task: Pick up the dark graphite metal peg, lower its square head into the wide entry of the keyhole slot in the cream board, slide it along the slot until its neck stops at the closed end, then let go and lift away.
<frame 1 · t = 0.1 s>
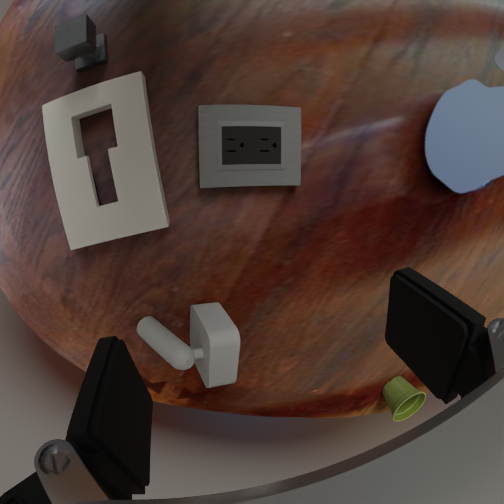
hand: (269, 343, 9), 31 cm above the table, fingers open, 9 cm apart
plant pot: (391, 384, 60), on the table
wall hook: (183, 323, 44), on the table
keyhole plate: (105, 160, 34), on the table
keyhole peg: (92, 53, 28), on the table
electrical outlet: (248, 145, 37), on the table
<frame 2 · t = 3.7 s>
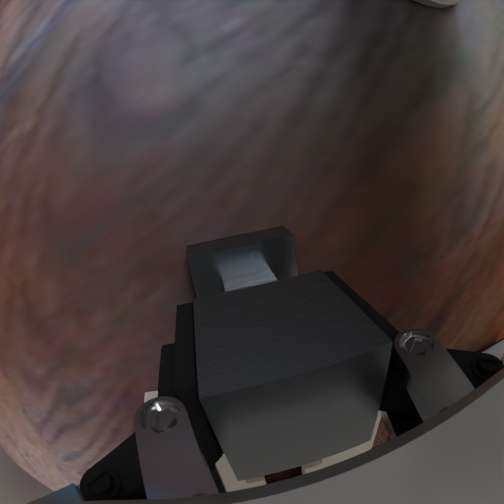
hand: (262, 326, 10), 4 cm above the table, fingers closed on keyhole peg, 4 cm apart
keyhole plate: (276, 451, 20), on the table
keyhole peg: (243, 279, 14), on the table, touching gripper
when the fingers open (4 cm above the table, at t = 12.0 s): keyhole peg stays where it is, resting in keyhole plate.
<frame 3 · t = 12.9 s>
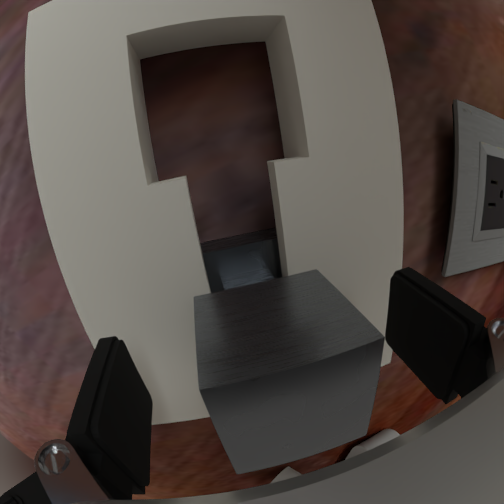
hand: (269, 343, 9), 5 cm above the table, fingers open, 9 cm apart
wall hook: (328, 459, 23), on the table
keyhole plate: (226, 192, 13), on the table
keyhole peg: (242, 279, 14), resting in keyhole plate
electrical outlet: (484, 188, 16), on the table
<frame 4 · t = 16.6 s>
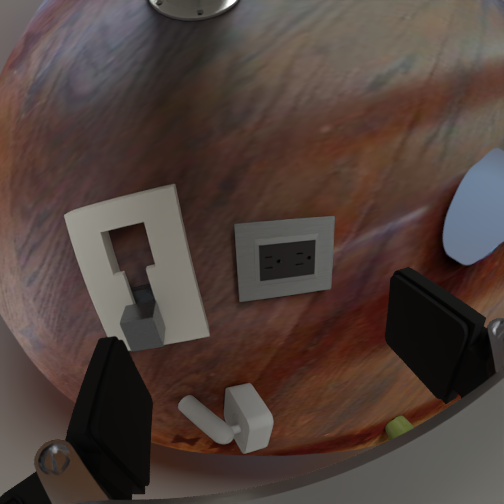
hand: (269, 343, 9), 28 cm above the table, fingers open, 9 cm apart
plant pot: (393, 422, 63), on the table
wall hook: (218, 397, 47), on the table
keyhole plate: (140, 271, 37), on the table
keyhole peg: (149, 298, 38), resting in keyhole plate
electrical outlet: (282, 253, 40), on the table
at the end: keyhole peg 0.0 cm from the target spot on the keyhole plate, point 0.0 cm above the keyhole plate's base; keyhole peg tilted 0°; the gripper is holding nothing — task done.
